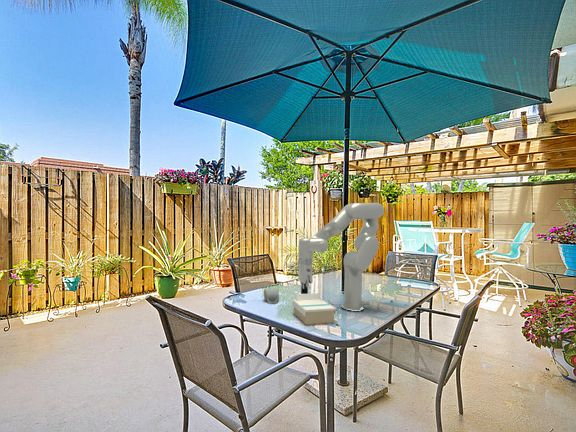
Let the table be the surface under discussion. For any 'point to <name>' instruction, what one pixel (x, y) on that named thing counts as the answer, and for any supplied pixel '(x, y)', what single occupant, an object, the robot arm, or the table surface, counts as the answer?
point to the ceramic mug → (271, 295)
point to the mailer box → (315, 317)
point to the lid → (311, 303)
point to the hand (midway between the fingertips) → (304, 295)
